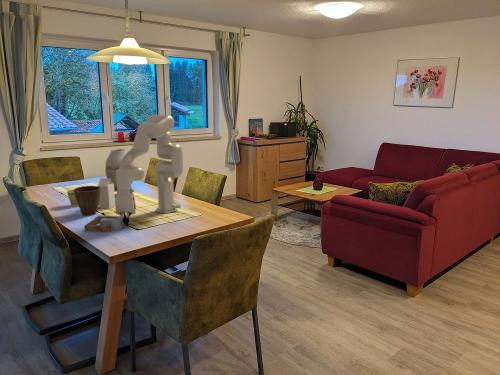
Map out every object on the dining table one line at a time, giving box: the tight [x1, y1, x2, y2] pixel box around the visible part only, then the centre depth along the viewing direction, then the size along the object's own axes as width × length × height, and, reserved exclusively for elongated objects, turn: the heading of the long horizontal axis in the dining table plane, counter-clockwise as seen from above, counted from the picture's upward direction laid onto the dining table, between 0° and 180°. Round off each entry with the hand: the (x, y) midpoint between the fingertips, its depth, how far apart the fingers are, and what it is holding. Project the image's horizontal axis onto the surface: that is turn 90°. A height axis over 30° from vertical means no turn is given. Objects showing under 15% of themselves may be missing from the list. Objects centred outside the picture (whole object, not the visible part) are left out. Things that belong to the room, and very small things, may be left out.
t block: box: [99, 215, 125, 231], centre depth 218 cm, size 12×12×4 cm
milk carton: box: [97, 177, 116, 209], centre depth 254 cm, size 7×7×19 cm
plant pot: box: [73, 185, 100, 217], centre depth 239 cm, size 15×15×16 cm
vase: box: [105, 148, 135, 190], centre depth 306 cm, size 21×21×30 cm
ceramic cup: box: [66, 189, 79, 208], centre depth 259 cm, size 13×10×10 cm
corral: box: [83, 215, 120, 233], centre depth 219 cm, size 14×18×3 cm
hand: (126, 224), depth 218 cm, fingers closed
